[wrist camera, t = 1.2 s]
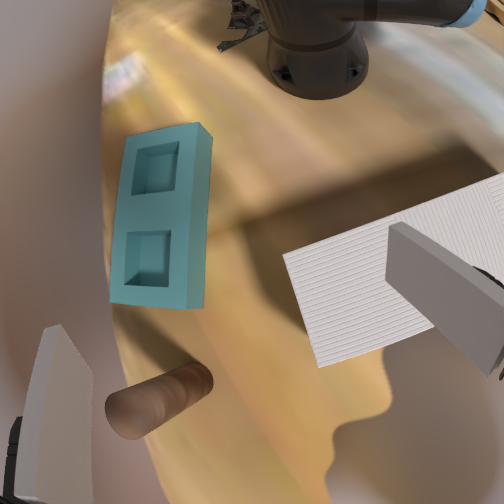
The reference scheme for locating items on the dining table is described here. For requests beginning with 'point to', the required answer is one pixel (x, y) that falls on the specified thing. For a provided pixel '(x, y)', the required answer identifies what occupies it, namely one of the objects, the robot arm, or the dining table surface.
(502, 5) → the brown flat irregular piece
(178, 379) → the walnut pin
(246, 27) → the eiffel tower figurine
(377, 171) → the dining table surface
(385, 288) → the stack of papers
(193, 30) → the dining table surface
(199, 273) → the bore block
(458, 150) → the dining table surface
